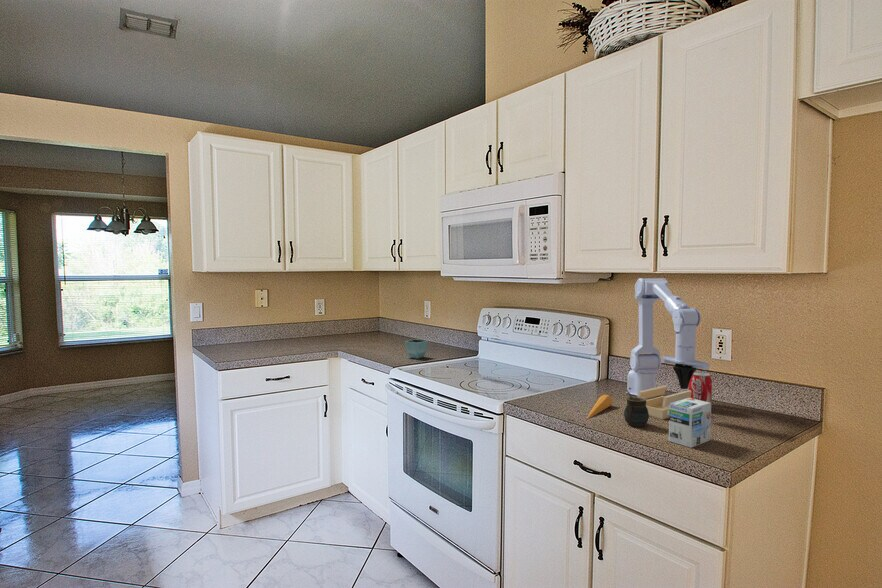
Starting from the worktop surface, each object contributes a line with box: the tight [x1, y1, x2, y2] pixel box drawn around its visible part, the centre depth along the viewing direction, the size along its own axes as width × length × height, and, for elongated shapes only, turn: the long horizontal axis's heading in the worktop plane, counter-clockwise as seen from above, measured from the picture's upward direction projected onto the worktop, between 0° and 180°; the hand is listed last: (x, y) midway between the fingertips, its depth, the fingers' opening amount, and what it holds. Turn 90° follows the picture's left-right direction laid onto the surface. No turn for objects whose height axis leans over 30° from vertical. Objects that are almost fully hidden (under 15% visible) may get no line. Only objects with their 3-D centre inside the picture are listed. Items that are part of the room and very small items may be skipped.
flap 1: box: [636, 385, 668, 400], centre depth 169 cm, size 3×15×1 cm
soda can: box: [687, 371, 713, 404], centre depth 169 cm, size 7×7×12 cm
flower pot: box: [404, 339, 429, 360], centre depth 261 cm, size 9×9×9 cm
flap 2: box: [662, 390, 692, 407], centre depth 161 cm, size 3×15×1 cm
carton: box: [646, 395, 670, 421], centre depth 165 cm, size 10×16×3 cm, turn 124°
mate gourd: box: [623, 389, 650, 428], centre depth 152 cm, size 7×8×10 cm
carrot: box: [586, 394, 613, 420], centre depth 166 cm, size 20×4×4 cm, turn 143°
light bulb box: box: [668, 398, 712, 449], centre depth 138 cm, size 11×7×11 cm, turn 126°
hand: (684, 388), depth 159 cm, fingers closed
